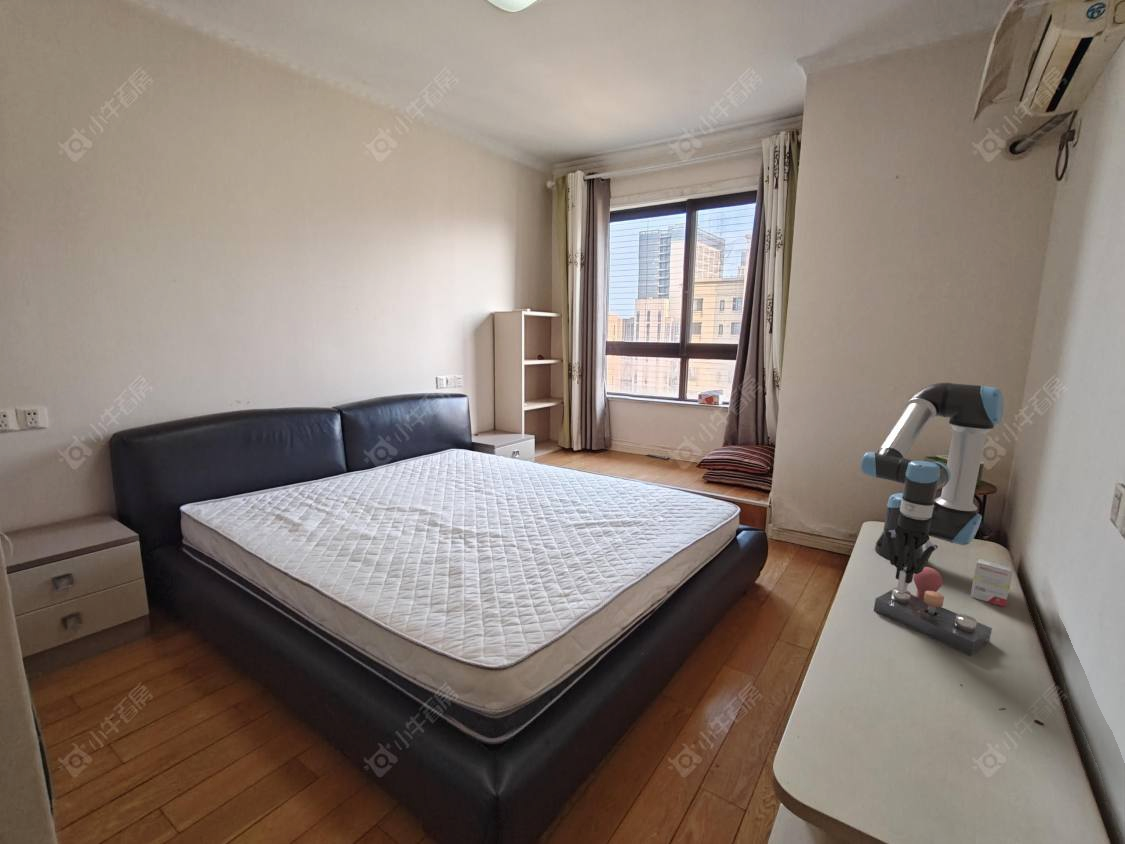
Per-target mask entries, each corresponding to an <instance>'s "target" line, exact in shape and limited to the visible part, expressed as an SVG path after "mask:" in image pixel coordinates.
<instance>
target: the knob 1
mask: <svg viewBox="0 0 1125 844" xmlns="http://www.w3.org/2000/svg"><path fill="white" fill-rule="evenodd" d="M892 590H893V591H892V599H893V600H895V601H897V602H900V603H909V600H910V595H912V593H911V592H910V591H909V590H907V591H906V592H904V593H900V592H897V587H894V588H892Z"/></svg>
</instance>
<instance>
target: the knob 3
mask: <svg viewBox="0 0 1125 844" xmlns="http://www.w3.org/2000/svg"><path fill="white" fill-rule="evenodd" d="M957 614H958V615H956V620H955V626H956V627H957V628H959V629H961V630H963V631H966V632H975V630H976V625H977V622H978V621H977V620H976V619H975V618H974V617H972V616H969V615H967V614H963V613H962V614H961V613H957Z"/></svg>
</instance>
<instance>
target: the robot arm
mask: <svg viewBox="0 0 1125 844" xmlns="http://www.w3.org/2000/svg"><path fill="white" fill-rule="evenodd" d="M1004 402H1005V401H1004V396H1003V392H1002V391H1001V390H1000V389H999V388H998V387H993V386H992V387H991V386H987V385H976V384H965V383H951V382H938V383H934V384H933V383H932V384H930V385H928V386H924V387H923V388H921V389H919V390H917V391H916V392H915V393H913V394H912V395H911V396H909V397H908V399H907V400H906V402H905V403H904V405H903V412H902V413H901V415H900V417H899V418H898V419H897V421H896V422H895V424H894V426H893V427H892V429H891V430H890V432H889V433H888V435H887V436H886V438H885V439H884V440H883V442H882V443H881V445H880V447H879V449H877V451H876V452H875V451H867V452H865V453H864V454H863V456H862V458H861V462H860V470H861V472H862V473H863V474H864V475H866V476H870V477H873V478H877V479H882V480H886V481H890V482H895V483H900V484H903V485H904V486H903V490H902V491H903V492H899V493H894V494H892V495H890V496H889V498H888V501H887V504H886V512H885V518H884V524H883V530H882V533H881V534H880V535H879V537H878V538H877V540H876V543H875V546H874V551H875V552H876V553H877V554H878V555H880V556H882V557H883V558H885V559H889V563H890V565H892V566H894V567H895V568H896V572H895V579H896V580H898V581H897V587H896V588H897V592H900V593H904V592H906V591H908V585H909V584H911V583H912V582H913V580H914V579H913V576H914V574H918V573H920V572H922V571H923V569H924V567H926V565H927V564H928V561H929V560H930V557H931V556H932V554H933V552H935V551H936V550H937V549H938V548H939V546H938V545H937V544H934V543H932V542H931V540H930V537H931V538H935V539H938V540H942V541H945V542H948V543H950V544H955V545H959V546H968V545H970V544H971V543H972V542H973V540H974V538H975V536H976V534H977V532H978V531H979V528H980V525H981V522H982V518H983V517H982V515H981V514H980V513H977V510H978V507H977V506H976V505H975V503H974V502H973V500H974V497H975V490H976V487H977V481H978V477H979V470H980V466H981V463H982V462H981V460H982V456H983V451H984V446H985V442H986V441H985V440H986V436H987V434H988V433H989V432H991V431H992V430H994V427H995V425H1000V424H1001V423H1002V420H1003V416H1004V415H1003V414H1004V407H1005V406H1004ZM936 417H943V418H947V419H948V418H949V420H948V421H949V422H948V424H949V426H951V428H952V430H953V431H952V436H951V442H950V446H949V452H948V457H947V463H946V465H945V464H943V463H942V462H939V461H925V460H914V459H910V458H906V457H907V456H908V454H910V451H911V449H912V448H913V446H914V445H915V443H916V441H917V439H918V438H919V437H920V435H921V433H922V432H923V431H924V429H925V427H926V425H927V424H928V422H931V421H932V420H934V419H935V418H936ZM940 489H942V490H941V495H940V496H939V497H936V495H937V491H938V490H940ZM923 545H925V546H924V547H923ZM924 549H925V550H924Z"/></svg>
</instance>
